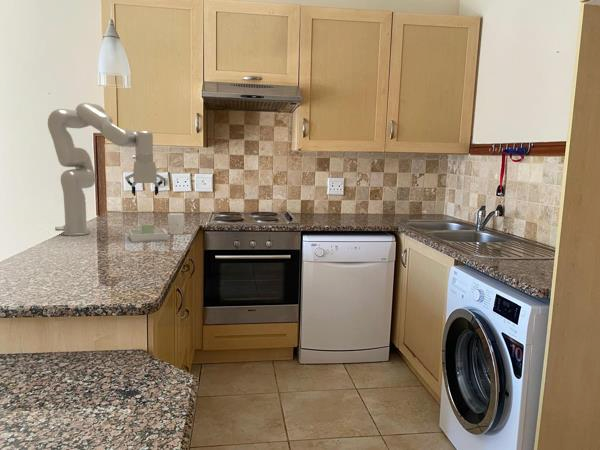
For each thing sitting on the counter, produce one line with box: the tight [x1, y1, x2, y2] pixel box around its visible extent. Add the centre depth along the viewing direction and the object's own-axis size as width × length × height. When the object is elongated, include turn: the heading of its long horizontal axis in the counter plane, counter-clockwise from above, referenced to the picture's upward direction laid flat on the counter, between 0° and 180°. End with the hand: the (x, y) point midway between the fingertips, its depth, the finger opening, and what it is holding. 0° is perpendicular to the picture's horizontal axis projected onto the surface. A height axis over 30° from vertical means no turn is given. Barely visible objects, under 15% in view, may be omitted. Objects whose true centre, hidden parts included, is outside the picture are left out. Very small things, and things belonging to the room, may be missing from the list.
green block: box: [141, 223, 155, 234], centre depth 228 cm, size 5×5×6 cm
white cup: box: [167, 212, 185, 236], centre depth 243 cm, size 8×8×10 cm
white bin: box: [128, 227, 169, 243], centre depth 228 cm, size 16×16×4 cm
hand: (145, 195), depth 226 cm, fingers open, 9 cm apart
